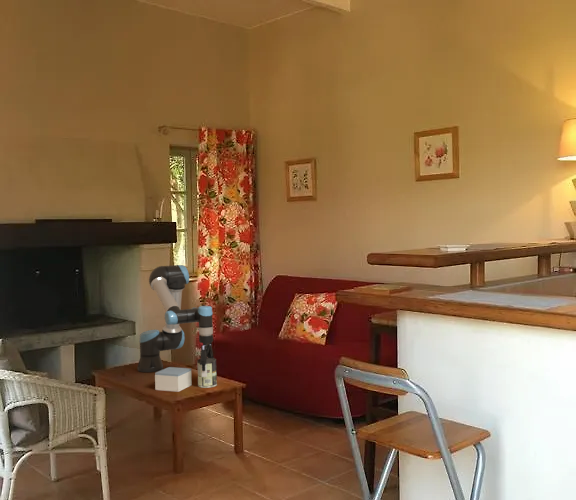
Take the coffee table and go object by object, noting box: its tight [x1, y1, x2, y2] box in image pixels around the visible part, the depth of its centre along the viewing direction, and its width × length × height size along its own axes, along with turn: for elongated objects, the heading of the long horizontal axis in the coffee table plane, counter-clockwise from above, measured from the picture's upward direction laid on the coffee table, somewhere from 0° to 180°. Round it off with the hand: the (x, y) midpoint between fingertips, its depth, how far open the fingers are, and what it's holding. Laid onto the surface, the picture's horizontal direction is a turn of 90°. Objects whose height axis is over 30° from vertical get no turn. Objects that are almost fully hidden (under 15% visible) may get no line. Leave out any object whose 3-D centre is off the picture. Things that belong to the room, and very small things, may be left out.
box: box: [154, 370, 192, 392], centre depth 349 cm, size 14×14×8 cm
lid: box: [154, 366, 192, 376], centre depth 349 cm, size 14×14×1 cm
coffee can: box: [196, 357, 218, 389], centre depth 352 cm, size 10×10×14 cm
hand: (207, 373), depth 351 cm, fingers open, 13 cm apart
